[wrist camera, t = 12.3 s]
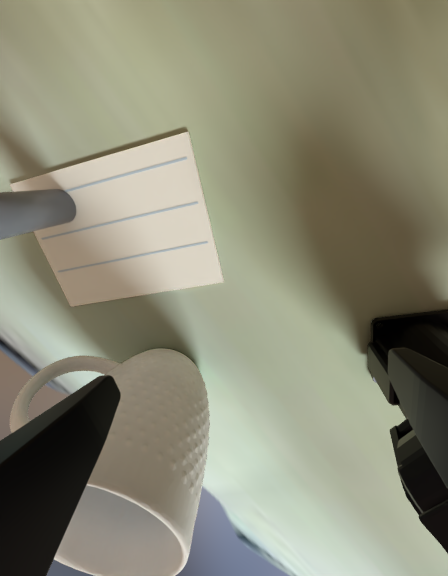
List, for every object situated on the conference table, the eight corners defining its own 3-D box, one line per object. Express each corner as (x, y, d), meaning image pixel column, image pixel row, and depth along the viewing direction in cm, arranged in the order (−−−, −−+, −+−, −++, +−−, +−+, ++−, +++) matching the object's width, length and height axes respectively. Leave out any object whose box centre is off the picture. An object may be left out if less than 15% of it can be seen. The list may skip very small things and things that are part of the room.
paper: (188, 132, 17) (187, 131, 17) (224, 280, 21) (223, 282, 21) (12, 184, 20) (9, 184, 20) (73, 305, 24) (70, 306, 24)
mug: (73, 368, 27) (-69, 513, 15) (99, 289, 23) (-73, 408, 11) (194, 426, 29) (148, 601, 17) (241, 362, 24) (224, 539, 12)
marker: (67, 183, 19) (-105, 191, 10) (83, 220, 20) (-60, 257, 11) (37, 192, 20) (-152, 206, 11) (54, 227, 21) (-105, 267, 12)
